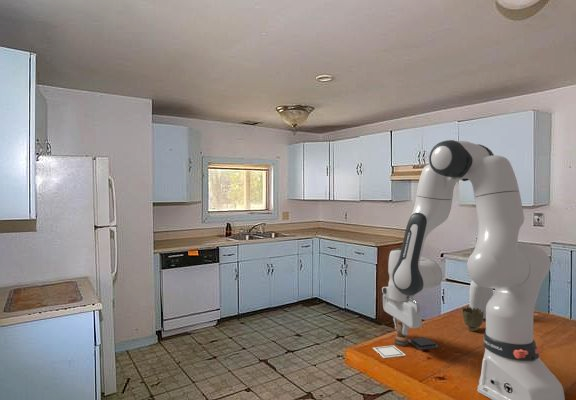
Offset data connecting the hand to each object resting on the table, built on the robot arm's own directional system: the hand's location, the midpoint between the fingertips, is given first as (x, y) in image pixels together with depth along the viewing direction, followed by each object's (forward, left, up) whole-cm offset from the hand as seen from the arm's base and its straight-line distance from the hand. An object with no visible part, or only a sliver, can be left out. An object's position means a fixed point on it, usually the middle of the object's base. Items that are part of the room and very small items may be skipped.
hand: (401, 332), depth 131 cm
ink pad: (-2, -7, -4) cm, 8 cm away
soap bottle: (+16, -48, -4) cm, 50 cm away
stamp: (0, 0, -4) cm, 4 cm away
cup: (+5, -34, -4) cm, 34 cm away
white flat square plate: (-5, +7, -4) cm, 10 cm away
